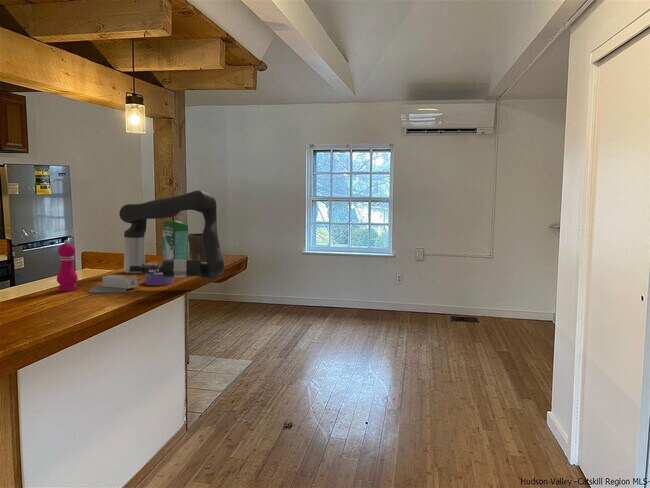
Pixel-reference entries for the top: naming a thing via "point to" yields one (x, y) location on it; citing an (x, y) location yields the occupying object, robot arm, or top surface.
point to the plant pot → (196, 247)
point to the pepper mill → (66, 268)
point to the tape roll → (157, 279)
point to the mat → (107, 290)
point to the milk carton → (175, 240)
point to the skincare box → (119, 281)
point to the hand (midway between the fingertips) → (130, 268)
